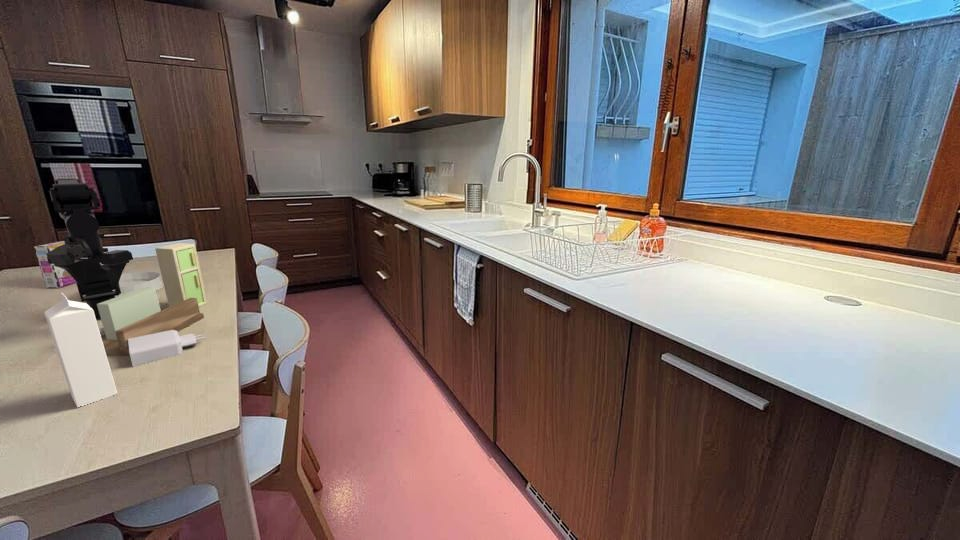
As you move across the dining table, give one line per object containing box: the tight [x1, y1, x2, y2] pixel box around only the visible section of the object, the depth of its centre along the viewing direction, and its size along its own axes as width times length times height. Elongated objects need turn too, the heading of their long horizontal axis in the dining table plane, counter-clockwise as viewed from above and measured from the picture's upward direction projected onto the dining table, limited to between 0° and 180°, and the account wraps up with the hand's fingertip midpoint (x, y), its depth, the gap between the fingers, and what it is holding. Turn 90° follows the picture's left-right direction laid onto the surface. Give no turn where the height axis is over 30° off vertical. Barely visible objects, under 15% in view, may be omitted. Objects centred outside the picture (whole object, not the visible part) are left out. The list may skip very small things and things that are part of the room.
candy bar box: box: [33, 240, 76, 289], centre depth 149 cm, size 11×5×16 cm, turn 6°
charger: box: [128, 330, 206, 368], centre depth 98 cm, size 5×9×15 cm
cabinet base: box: [100, 298, 205, 356], centre depth 107 cm, size 16×24×6 cm, turn 177°
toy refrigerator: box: [155, 242, 208, 308], centre depth 125 cm, size 8×7×21 cm
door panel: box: [97, 287, 162, 340], centre depth 106 cm, size 3×14×10 cm, turn 177°
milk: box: [43, 292, 118, 408], centre depth 76 cm, size 6×6×22 cm
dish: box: [82, 271, 164, 298], centre depth 142 cm, size 22×22×5 cm
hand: (99, 286), depth 107 cm, fingers open, 9 cm apart
